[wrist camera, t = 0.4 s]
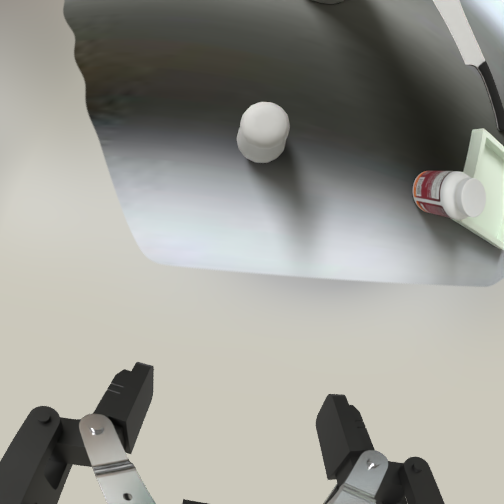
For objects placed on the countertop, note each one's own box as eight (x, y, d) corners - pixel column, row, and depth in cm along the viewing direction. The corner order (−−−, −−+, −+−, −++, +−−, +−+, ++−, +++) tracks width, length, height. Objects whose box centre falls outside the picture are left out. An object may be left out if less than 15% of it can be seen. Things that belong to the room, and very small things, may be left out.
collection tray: (472, 129, 34) (483, 128, 31) (515, 168, 35) (525, 169, 32) (449, 218, 37) (460, 221, 35) (495, 246, 39) (505, 251, 36)
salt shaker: (292, 146, 35) (314, 131, 23) (256, 173, 36) (260, 170, 24) (264, 111, 34) (271, 79, 22) (228, 137, 35) (217, 117, 22)
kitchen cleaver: (414, -22, 26) (453, -17, 24) (411, -18, 27) (449, -14, 26) (481, 134, 33) (514, 129, 32) (476, 134, 35) (509, 129, 33)
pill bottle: (447, 202, 37) (494, 212, 26) (418, 218, 38) (464, 233, 27) (434, 164, 36) (482, 164, 25) (405, 179, 36) (451, 183, 26)
